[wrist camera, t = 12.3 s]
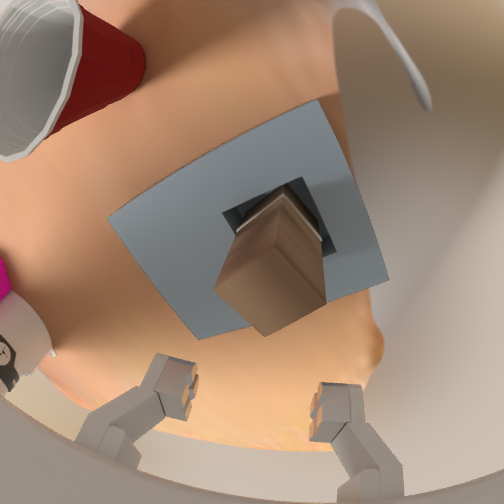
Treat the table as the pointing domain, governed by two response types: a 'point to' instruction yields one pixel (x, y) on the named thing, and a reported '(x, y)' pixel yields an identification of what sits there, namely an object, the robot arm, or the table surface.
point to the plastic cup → (58, 70)
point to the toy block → (3, 280)
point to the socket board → (234, 208)
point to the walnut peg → (274, 263)
